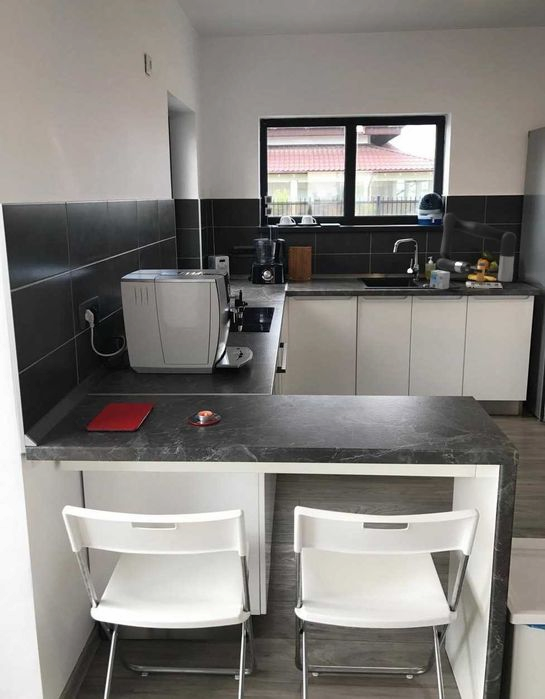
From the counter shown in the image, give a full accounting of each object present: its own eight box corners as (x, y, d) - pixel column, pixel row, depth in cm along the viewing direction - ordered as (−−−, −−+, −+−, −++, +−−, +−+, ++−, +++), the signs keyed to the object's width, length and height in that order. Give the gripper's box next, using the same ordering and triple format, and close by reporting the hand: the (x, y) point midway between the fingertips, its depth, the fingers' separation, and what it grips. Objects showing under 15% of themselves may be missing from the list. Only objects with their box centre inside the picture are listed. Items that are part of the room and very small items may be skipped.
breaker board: (499, 285, 455) (500, 281, 455) (502, 289, 442) (502, 285, 442) (466, 283, 460) (466, 279, 459) (467, 287, 447) (467, 283, 446)
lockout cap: (483, 280, 454) (485, 262, 451) (484, 281, 450) (485, 263, 447) (475, 280, 455) (477, 262, 452) (476, 281, 451) (478, 263, 447)
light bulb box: (429, 287, 447) (430, 270, 444) (436, 285, 451) (437, 269, 448) (442, 289, 439) (443, 272, 436) (449, 288, 443) (450, 272, 440)
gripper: (457, 262, 456) (478, 266, 443) (470, 261, 465) (491, 264, 452) (456, 273, 458) (477, 277, 445) (469, 272, 467) (490, 275, 454)
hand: (484, 271), depth 449 cm, fingers closed on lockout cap, 4 cm apart
